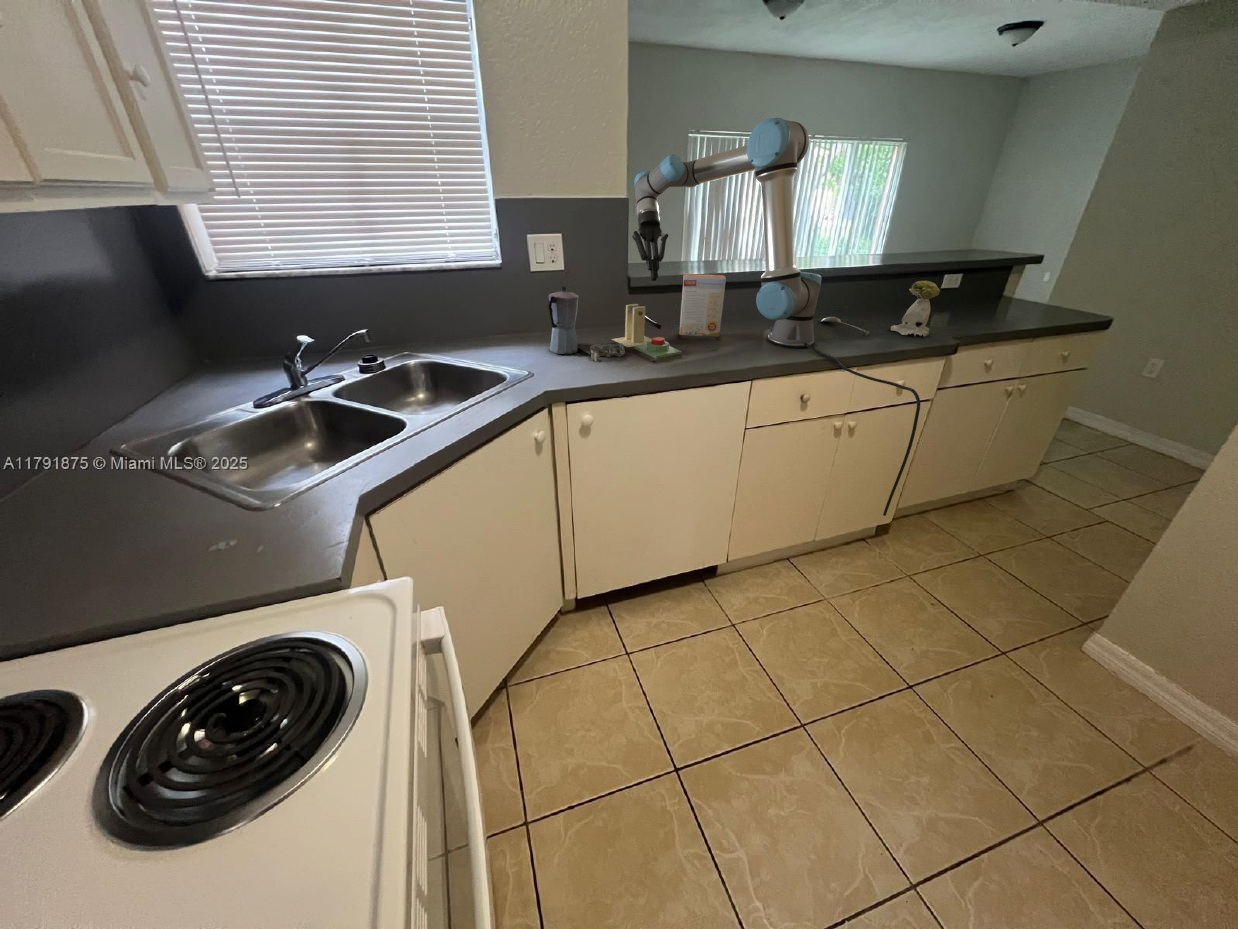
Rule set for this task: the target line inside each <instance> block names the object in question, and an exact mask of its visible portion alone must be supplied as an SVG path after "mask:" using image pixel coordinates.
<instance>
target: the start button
mask: <svg viewBox="0 0 1238 929" xmlns="http://www.w3.org/2000/svg"><path fill="white" fill-rule="evenodd" d="M651 339H652V344H653V345H664V341H666V339H665V337H661V336H654V337H652V338H651Z"/></svg>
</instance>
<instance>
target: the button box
mask: <svg viewBox="0 0 1238 929" xmlns="http://www.w3.org/2000/svg"><path fill="white" fill-rule="evenodd" d="M633 349H635V350H636V351H638V352H641V353H642V354H645V355H647V356H649V357H651V358H653V359H655V360H651V362H652V363H654V364H658V363H665V362H668V361H669V362H670V361H674V360H678V359H682V354H683V351H682V350H680V349H678V348H675V347H672V346H671V345H670V342H668V341H666V340H664V345H653V344H652V340H651V341H648V342H647V344H643V345H637V346H633Z"/></svg>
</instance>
